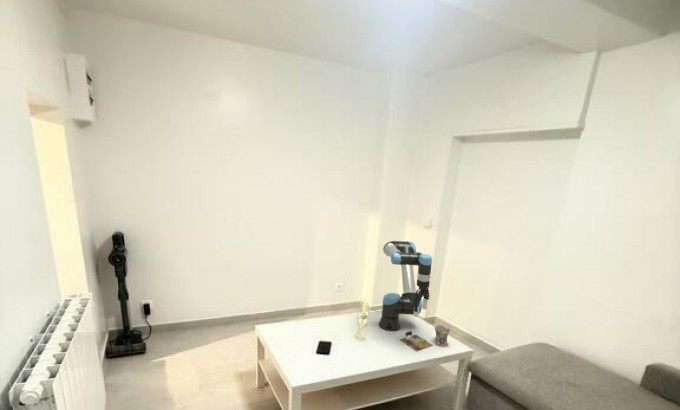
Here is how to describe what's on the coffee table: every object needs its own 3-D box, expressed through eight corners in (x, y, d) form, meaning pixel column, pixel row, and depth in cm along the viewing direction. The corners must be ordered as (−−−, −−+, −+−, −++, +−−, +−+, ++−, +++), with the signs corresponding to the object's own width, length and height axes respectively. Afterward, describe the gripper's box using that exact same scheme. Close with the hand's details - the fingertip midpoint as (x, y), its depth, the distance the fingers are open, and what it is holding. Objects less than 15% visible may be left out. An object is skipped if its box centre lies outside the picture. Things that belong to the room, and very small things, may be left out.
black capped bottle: (403, 340, 202) (404, 331, 201) (408, 338, 204) (409, 330, 204) (417, 349, 192) (418, 340, 191) (422, 347, 194) (423, 339, 194)
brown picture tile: (399, 341, 203) (399, 339, 203) (415, 336, 211) (415, 334, 211) (416, 353, 190) (416, 351, 190) (433, 347, 198) (433, 345, 198)
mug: (451, 348, 198) (452, 332, 197) (437, 349, 196) (439, 332, 195) (441, 338, 210) (443, 323, 209) (428, 339, 208) (429, 323, 207)
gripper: (421, 287, 183) (417, 321, 185) (436, 276, 203) (433, 307, 205) (409, 283, 187) (405, 317, 190) (425, 273, 207) (422, 304, 210)
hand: (420, 312), depth 198 cm, fingers open, 13 cm apart
